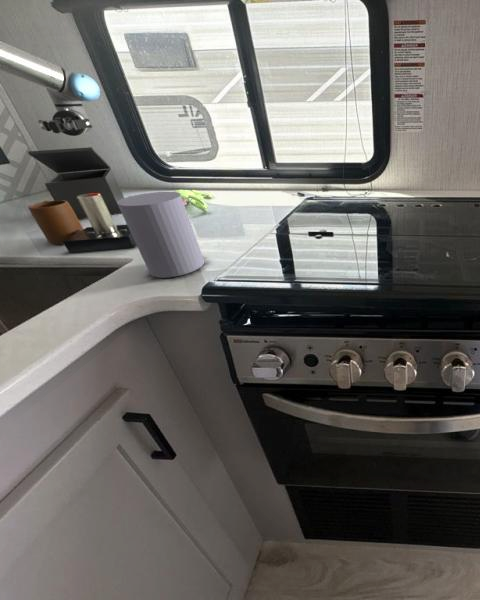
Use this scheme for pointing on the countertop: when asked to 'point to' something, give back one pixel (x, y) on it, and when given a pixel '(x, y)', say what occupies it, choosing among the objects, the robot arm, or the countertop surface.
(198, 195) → the figurine
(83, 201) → the cream silver cylinder
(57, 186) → the dark grey box
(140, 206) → the container
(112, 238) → the panel
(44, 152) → the lid
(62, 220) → the mug
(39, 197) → the countertop surface
